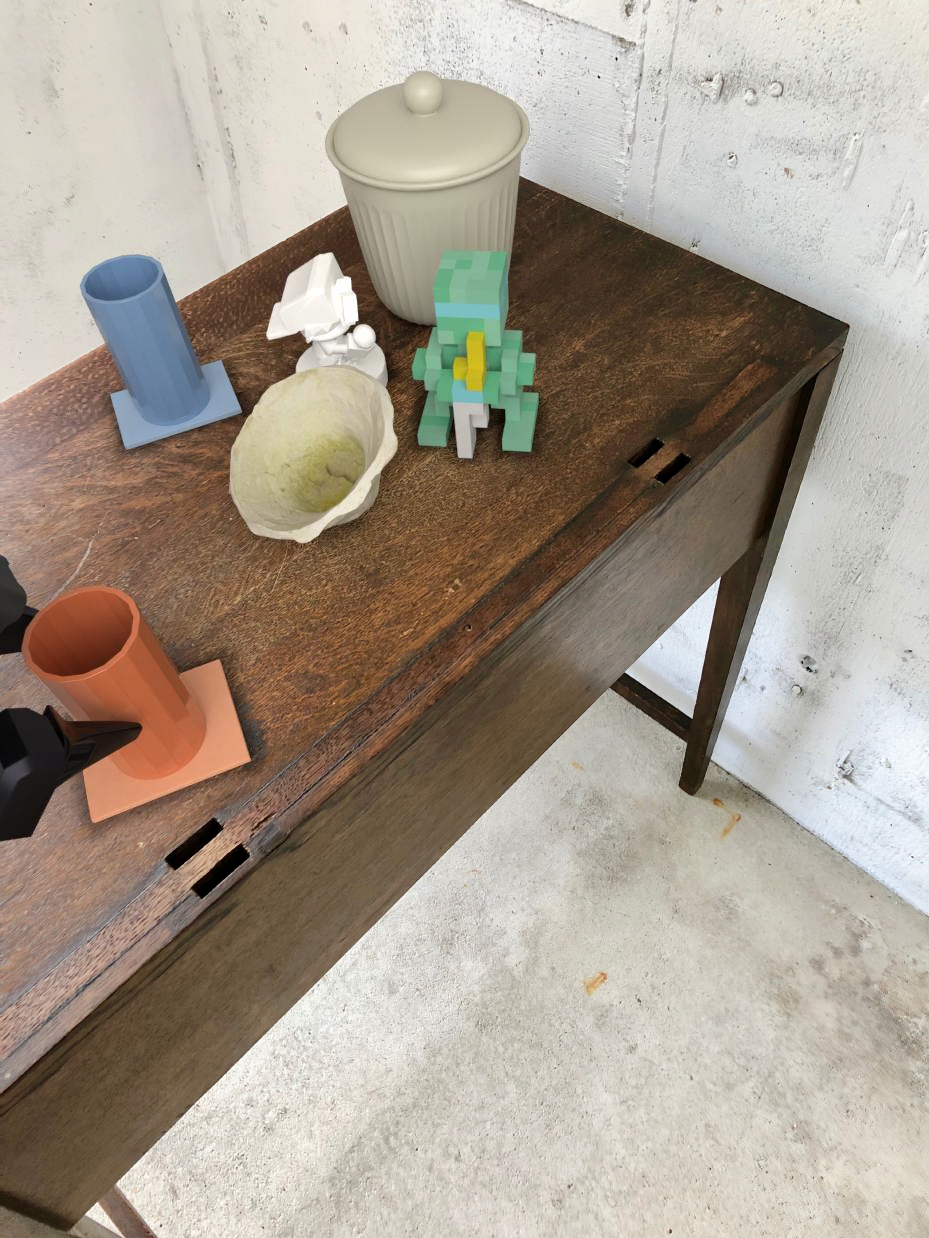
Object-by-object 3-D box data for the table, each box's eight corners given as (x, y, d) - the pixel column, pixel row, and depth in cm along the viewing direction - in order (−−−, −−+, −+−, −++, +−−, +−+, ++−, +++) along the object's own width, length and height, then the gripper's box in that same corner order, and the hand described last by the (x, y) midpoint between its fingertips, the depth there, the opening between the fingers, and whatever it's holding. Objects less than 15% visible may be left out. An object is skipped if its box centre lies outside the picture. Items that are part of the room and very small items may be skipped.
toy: (416, 455, 77) (393, 307, 65) (435, 380, 83) (418, 231, 70) (529, 462, 76) (528, 312, 63) (541, 385, 81) (542, 234, 69)
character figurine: (383, 412, 81) (362, 298, 71) (282, 414, 81) (247, 301, 72) (391, 351, 86) (373, 236, 76) (296, 353, 86) (266, 240, 77)
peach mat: (94, 823, 59) (91, 820, 58) (75, 716, 64) (72, 713, 63) (251, 761, 61) (249, 758, 60) (221, 662, 66) (219, 658, 65)
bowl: (212, 498, 76) (173, 408, 67) (347, 424, 80) (326, 331, 72) (301, 604, 68) (269, 518, 60) (445, 516, 73) (433, 425, 64)
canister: (320, 319, 89) (270, 100, 72) (417, 229, 98) (393, 14, 81) (471, 372, 83) (455, 146, 66) (561, 271, 91) (568, 48, 74)
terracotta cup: (104, 786, 60) (11, 688, 49) (116, 700, 64) (33, 592, 53) (203, 773, 60) (131, 673, 49) (209, 688, 64) (145, 579, 53)
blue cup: (145, 434, 80) (86, 312, 70) (132, 391, 84) (74, 268, 73) (217, 411, 81) (170, 288, 71) (201, 369, 85) (154, 246, 75)
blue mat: (126, 450, 80) (124, 446, 79) (112, 398, 84) (109, 394, 84) (242, 412, 82) (241, 408, 81) (222, 363, 86) (220, 359, 86)
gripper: (-83, 688, 35) (233, 683, 48) (-189, 443, 45) (99, 492, 57) (-157, 873, 39) (152, 824, 52) (-240, 613, 49) (39, 624, 61)
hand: (109, 680), depth 55 cm, fingers open, 9 cm apart
